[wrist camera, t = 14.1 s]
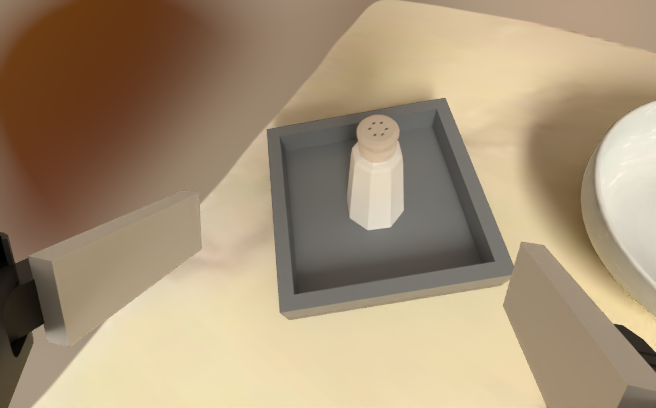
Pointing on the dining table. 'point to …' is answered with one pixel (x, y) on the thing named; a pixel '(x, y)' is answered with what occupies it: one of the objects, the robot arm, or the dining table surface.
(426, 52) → the dining table surface
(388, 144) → the salt shaker
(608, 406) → the robot arm
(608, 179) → the serving bowl
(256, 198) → the dining table surface
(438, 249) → the parts tray
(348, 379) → the dining table surface
